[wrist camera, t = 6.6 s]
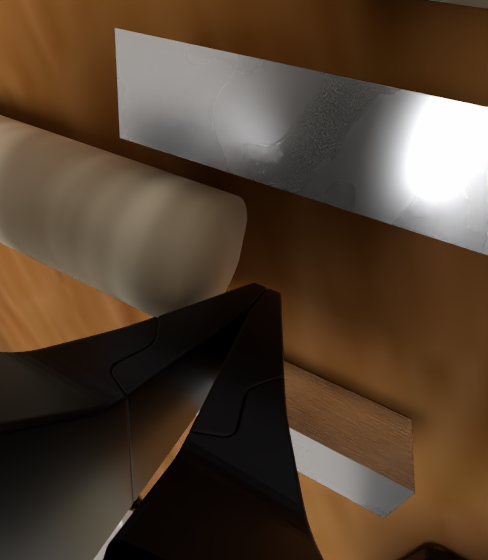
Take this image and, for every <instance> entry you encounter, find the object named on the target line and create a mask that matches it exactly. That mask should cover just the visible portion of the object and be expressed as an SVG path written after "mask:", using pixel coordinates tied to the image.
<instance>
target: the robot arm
mask: <svg viewBox="0 0 488 560" xmlns="http://www.w3.org/2000/svg"><path fill="white" fill-rule="evenodd" d="M199 410H200V411H199ZM198 412H199V413H198ZM197 413H198V415H197V417H196V419H195V421H194V423H193V425H192V427H191V429H190V432H189V434H188V436H187V437H186V439H185V441H184V443H183V445H182V447H181V449H180V451H179V452H178V454H177V456H176V457H175V459H174V460H173V462H172V463H171V464H170V466H169V467H168V468H167V469H166V471H165V472H164V473H163V475H162V476H161V477H160V478H159V480H158V481H157V482H156V484H155V485H154V486H153V487H152V489H151V490H150V491H149V492H148V494H147V495H146V496H145V498H144V499H143V500H142V501H141V503H140V504H139V505H138V507H137V508H136V509H135V510H134V512H133V513H132V514H131V516H130V517H129V518H128V519H127V521H126V522H125V523H124V524H123V526H122V527H121V528H120V530H119V531H118V532H117V533H116V535H115V536H114V537H113V539H112V540H111V541H110V542H109V544H108V546H107V548H106V551H105V554H104V558H103V560H324V559H323V557H322V555H321V553H320V551H319V549H318V547H317V545H316V542H315V540H314V537H313V535H312V532H311V529H310V526H309V523H308V519H307V515H306V511H305V507H304V503H303V498H302V493H301V488H300V482H299V477H298V472H297V467H296V461H295V456H294V451H293V445H292V440H291V435H290V429H289V422H288V416H287V407H286V395H285V379H284V352H283V327H282V301H281V294H280V293H279V292H277V291H274V290H272V289H267V288H266V287H264V286H262V285H259V284H257V283H251V284H248V285H245V286H243V287H240V288H237V289H234V290H231V291H228V292H225V293H222V294H220V295H217V296H214V297H211V298H208V299H205V300H202V301H200V302H197V303H194V304H191V305H188V306H185V307H182V308H179V309H177V310H174V311H171V312H168V313H165V314H162V315H159V316H158V318H157V317H153V318H151V319H148V320H145V321H142V322H139V323H136V324H133V325H129V326H126V327H123V328H120V329H116V330H112V331H109V332H105V333H101V334H97V335H94V336H90V337H86V338H82V339H78V340H74V341H70V342H66V343H62V344H58V345H54V346H50V347H46V348H42V349H37V350H32V351H25V352H0V560H93V559H94V558H95V557H96V555H97V554H98V552H99V551H100V550H101V548H102V547H103V545H104V544H105V543H106V541H107V540H108V538H109V537H110V536H111V534H112V533H113V531H114V530H115V529H116V527H117V526H118V524H119V523H120V522H121V520H122V519H123V517H124V516H125V514H126V513H127V512H128V510H129V509H130V507H131V506H132V505H133V502H134V501H135V500H136V499H137V497H138V496H139V495H140V493H141V492H142V490H143V489H144V488H145V486H146V485H147V483H148V482H149V481H150V479H151V478H152V476H153V475H154V474H155V472H156V471H157V469H158V468H159V466H160V465H161V464H162V462H163V461H164V459H165V458H166V457H167V455H168V454H169V452H170V451H171V450H172V448H173V447H174V445H175V444H176V443H177V441H178V440H179V438H180V437H181V436H182V434H183V433H184V431H185V430H186V429H187V427H188V426H189V424H190V423H191V421H192V420H193V419H194V417H195V416H196V414H197ZM405 560H457V559H455V558H454V557H452V556H450V555H448V554H446V553H445V552H443V551H441V550H438V549H436V548H432V547H426V548H423V549H422V550H420V551H418V552H417V553H415V554H413V555H412V556H410V557H408V558H407V559H405Z"/></svg>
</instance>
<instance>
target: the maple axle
mask: <svg viewBox="0 0 488 560" xmlns="http://www.w3.org/2000/svg"><path fill="white" fill-rule="evenodd" d="M246 224H247V209H246V205H245V203H244V201H243V199H242V198H241V197H239V196H237V195H234V194H231V193H228V192H225V191H222V190H219V189H216V188H213V187H210V186H207V185H204V184H201V183H199V182H196V181H193V180H190V179H187V178H184V177H181V176H178V175H175V174H172V173H169V172H166V171H163V170H160V169H158V168H155V167H152V166H149V165H146V164H143V163H140V162H137V161H134V160H131V159H128V158H125V157H122V156H119V155H116V154H114V153H111V152H108V151H105V150H102V149H99V148H96V147H93V146H90V145H87V144H84V143H81V142H78V141H75V140H72V139H70V138H67V137H64V136H61V135H58V134H55V133H52V132H49V131H46V130H43V129H40V128H37V127H34V126H31V125H28V124H26V123H23V122H20V121H17V120H14V119H11V118H8V117H5V116H2V115H0V243H2V244H4V245H6V246H8V247H10V248H12V249H14V250H16V251H18V252H20V253H22V254H25V255H27V256H29V257H31V258H33V259H35V260H37V261H39V262H41V263H43V264H45V265H47V266H49V267H52V268H54V269H56V270H58V271H60V272H62V273H64V274H66V275H68V276H70V277H72V278H74V279H77V280H79V281H81V282H83V283H85V284H87V285H89V286H91V287H93V288H95V289H97V290H99V291H101V292H104V293H106V294H108V295H110V296H112V297H114V298H116V299H118V300H120V301H122V302H124V303H126V304H128V305H131V306H133V307H135V308H137V309H139V310H141V311H143V312H145V313H147V314H149V315H151V316H153V317H157V318H158V316H159V315H162V314H165V313H168V312H171V311H174V310H177V309H179V308H182V307H185V306H188V305H191V304H194V303H197V302H200V301H202V300H205V299H208V298H211V297H214V296H217V295H220V294H222V293H225V292H226V290H227V288H228V286H229V284H230V282H231V280H232V277H233V275H234V273H235V270H236V268H237V265H238V262H239V258H240V253H241V248H242V243H243V239H244V234H245V229H246Z"/></svg>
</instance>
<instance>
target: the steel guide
mask: <svg viewBox="0 0 488 560" xmlns="http://www.w3.org/2000/svg"><path fill="white" fill-rule="evenodd" d="M115 43H116V65H117V86H118V108H119V129H120V138H122V139H125V140H128V141H131V142H134V143H138V144H141V145H144V146H147V147H150V148H153V149H156V150H159V151H163V152H166V153H169V154H172V155H175V156H178V157H181V158H184V159H188V160H191V161H194V162H197V163H200V164H203V165H206V166H210V167H213V168H216V169H219V170H222V171H225V172H228V173H231V174H235V175H238V176H241V177H244V178H247V179H250V180H253V181H256V182H260V183H263V184H266V185H269V186H272V187H275V188H278V189H281V190H285V191H288V192H291V193H294V194H297V195H300V196H303V197H307V198H310V199H313V200H316V201H319V202H322V203H325V204H328V205H332V206H335V207H338V208H341V209H344V210H347V211H350V212H353V213H357V214H360V215H363V216H366V217H369V218H372V219H375V220H378V221H382V222H385V223H388V224H391V225H394V226H397V227H400V228H404V229H407V230H410V231H413V232H416V233H419V234H422V235H425V236H429V237H432V238H435V239H438V240H441V241H444V242H447V243H450V244H454V245H457V246H460V247H463V248H466V249H469V250H472V251H475V252H479V253H482V254H485V255H488V107H484V106H479V105H474V104H470V103H465V102H460V101H456V100H451V99H446V98H442V97H437V96H432V95H427V94H423V93H418V92H413V91H409V90H404V89H399V88H395V87H390V86H385V85H381V84H376V83H371V82H366V81H362V80H357V79H352V78H348V77H343V76H338V75H334V74H329V73H324V72H320V71H315V70H310V69H305V68H301V67H296V66H291V65H287V64H282V63H277V62H273V61H268V60H263V59H259V58H254V57H249V56H244V55H240V54H235V53H230V52H226V51H221V50H216V49H212V48H207V47H202V46H198V45H193V44H188V43H183V42H179V41H174V40H169V39H165V38H160V37H155V36H151V35H146V34H141V33H136V32H132V31H127V30H122V29H118V28H115ZM284 379H285V395H286V407H287V416H288V422H289V429H290V435H291V440H292V445H293V451H294V456H295V461H296V467H297V471H299V472H301V473H302V474H304V475H306V476H308V477H310V478H312V479H313V480H315V481H317V482H319V483H321V484H322V485H324V486H326V487H328V488H330V489H332V490H333V491H335V492H337V493H339V494H341V495H342V496H344V497H346V498H348V499H350V500H352V501H353V502H355V503H357V504H359V505H361V506H362V507H364V508H366V509H368V510H370V511H372V512H373V513H375V514H377V515H379V516H381V517H382V518H385V517H386V516H387V515H388V514H390V513H391V512H392V511H393V510H395V509H396V508H397V507H398V506H399V505H401V504H402V503H403V502H404V501H405V500H407V499H408V498H409V497H410V496H411V495H413V494H414V493H415V482H414V461H413V440H412V420H411V419H409V418H407V417H405V416H403V415H401V414H398V413H396V412H394V411H392V410H390V409H388V408H385V407H383V406H381V405H379V404H377V403H375V402H372V401H370V400H368V399H366V398H364V397H362V396H360V395H357V394H355V393H353V392H351V391H349V390H347V389H344V388H342V387H340V386H338V385H336V384H334V383H331V382H329V381H327V380H325V379H323V378H321V377H318V376H316V375H314V374H312V373H310V372H308V371H306V370H303V369H301V368H299V367H297V366H295V365H293V364H290V363H288V362H286V361H284ZM199 411H200V410H199ZM198 413H199V412H198ZM198 413H197V414H196V415H198Z"/></svg>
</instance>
